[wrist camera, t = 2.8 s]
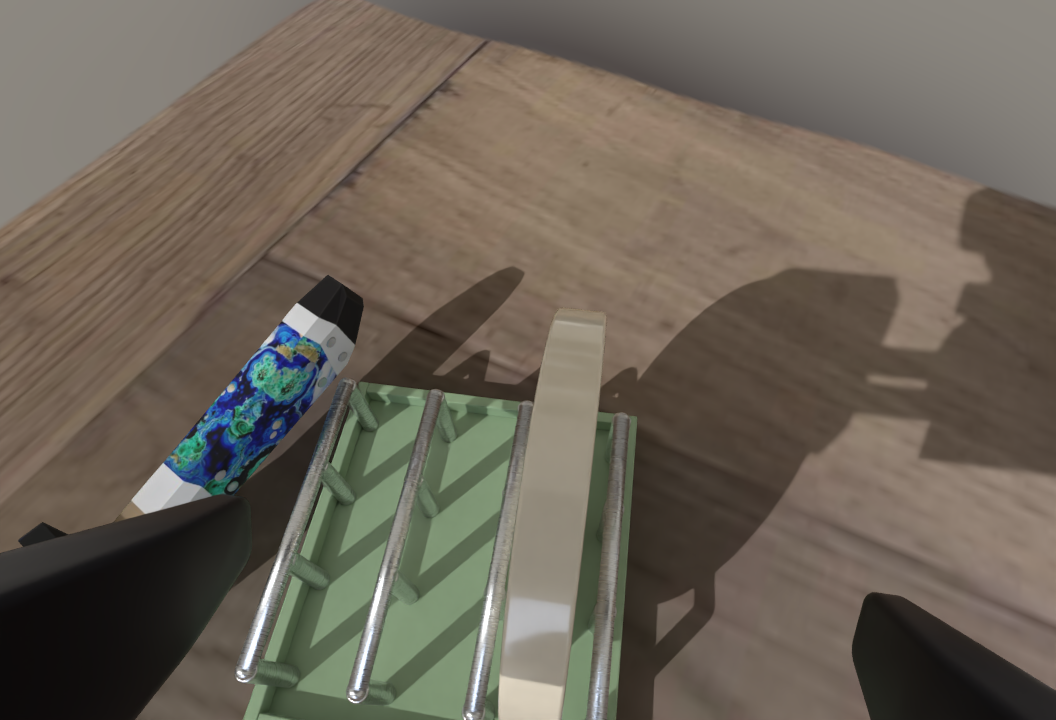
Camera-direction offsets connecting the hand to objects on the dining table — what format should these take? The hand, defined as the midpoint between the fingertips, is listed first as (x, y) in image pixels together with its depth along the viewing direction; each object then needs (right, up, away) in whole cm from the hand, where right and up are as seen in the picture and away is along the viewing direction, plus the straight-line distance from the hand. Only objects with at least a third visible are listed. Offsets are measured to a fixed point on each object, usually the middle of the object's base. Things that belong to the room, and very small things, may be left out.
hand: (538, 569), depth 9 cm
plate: (+1, -3, +11) cm, 11 cm away
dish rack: (-2, -4, +11) cm, 12 cm away
